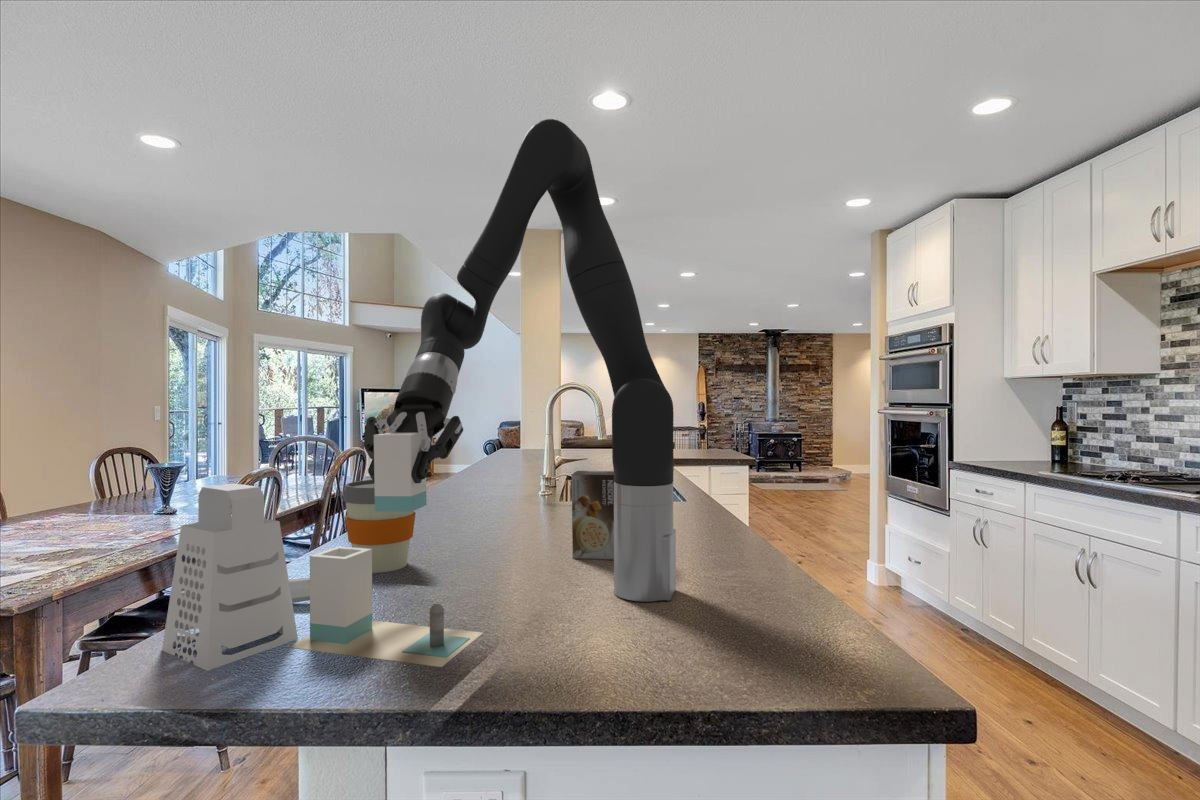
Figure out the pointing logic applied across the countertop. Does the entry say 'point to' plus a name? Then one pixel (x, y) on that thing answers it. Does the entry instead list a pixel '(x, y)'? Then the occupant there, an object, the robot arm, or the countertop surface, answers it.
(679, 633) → the countertop surface
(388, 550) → the reusable coffee cup
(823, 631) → the countertop surface
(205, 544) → the grater
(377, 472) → the sleeve
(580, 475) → the coffee box
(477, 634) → the pin board
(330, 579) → the seated sleeve
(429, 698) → the countertop surface
